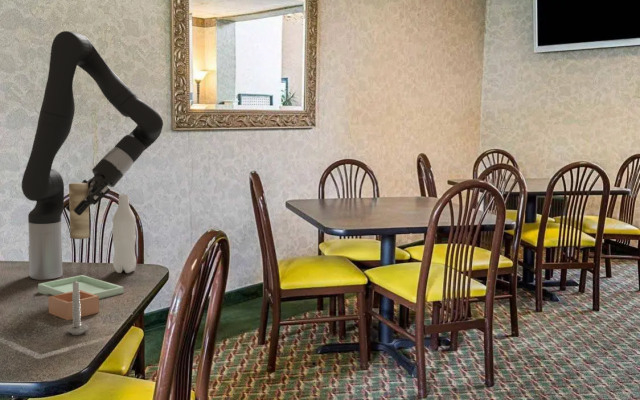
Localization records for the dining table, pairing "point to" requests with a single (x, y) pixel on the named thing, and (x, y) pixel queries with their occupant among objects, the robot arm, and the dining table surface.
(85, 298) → the terracotta holder
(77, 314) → the screw
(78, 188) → the birch pin
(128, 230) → the water bottle
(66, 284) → the pale green tray
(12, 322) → the dining table surface
